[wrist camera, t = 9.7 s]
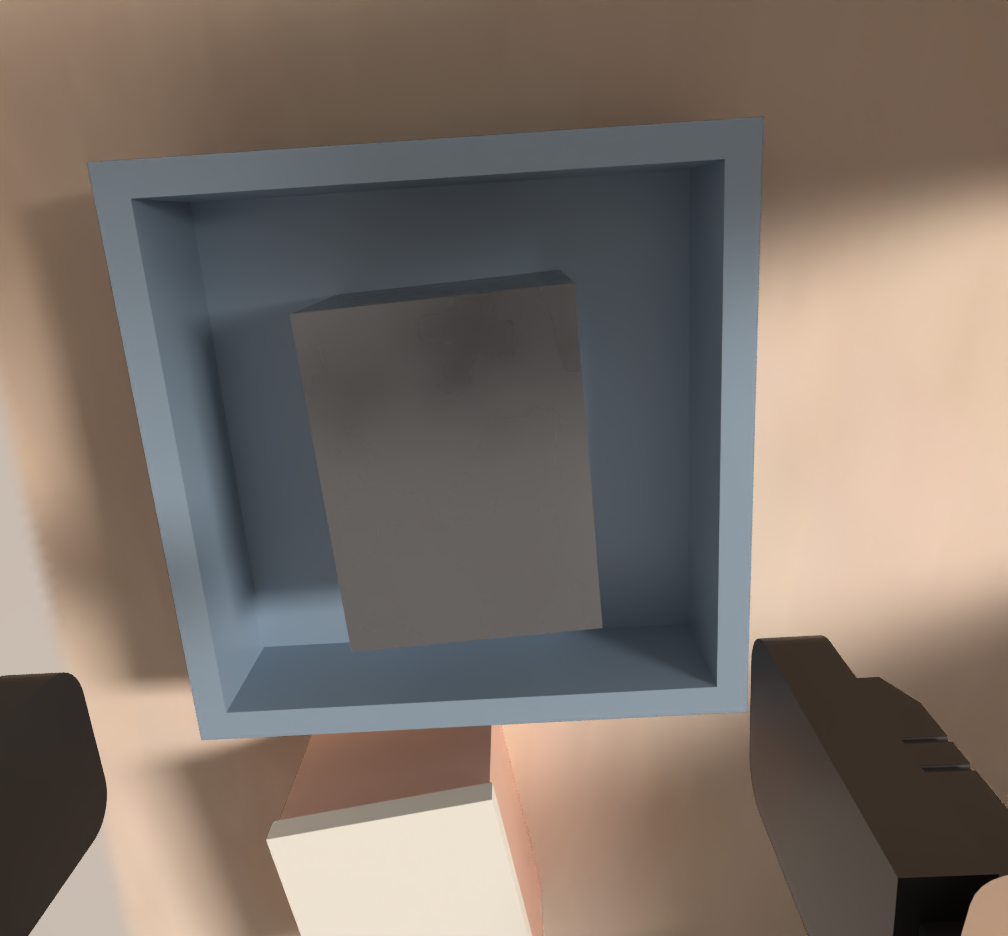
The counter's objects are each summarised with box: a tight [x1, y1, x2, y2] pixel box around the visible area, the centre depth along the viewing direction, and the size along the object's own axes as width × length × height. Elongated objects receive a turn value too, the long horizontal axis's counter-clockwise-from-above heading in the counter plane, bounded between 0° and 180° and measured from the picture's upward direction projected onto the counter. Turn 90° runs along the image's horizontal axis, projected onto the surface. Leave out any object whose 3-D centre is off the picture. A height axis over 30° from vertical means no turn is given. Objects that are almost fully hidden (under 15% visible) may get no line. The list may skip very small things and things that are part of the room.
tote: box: [87, 117, 763, 740], centre depth 22 cm, size 15×15×4 cm
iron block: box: [290, 270, 603, 652], centre depth 20 cm, size 6×8×5 cm
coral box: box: [266, 725, 543, 936], centre depth 25 cm, size 6×8×6 cm
